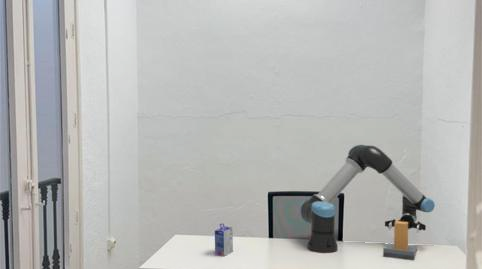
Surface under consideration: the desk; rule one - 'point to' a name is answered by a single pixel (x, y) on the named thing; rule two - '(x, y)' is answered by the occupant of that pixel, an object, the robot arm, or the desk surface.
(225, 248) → the ink cartridge box
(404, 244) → the orange tan rectangular block
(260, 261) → the desk surface
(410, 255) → the plate
